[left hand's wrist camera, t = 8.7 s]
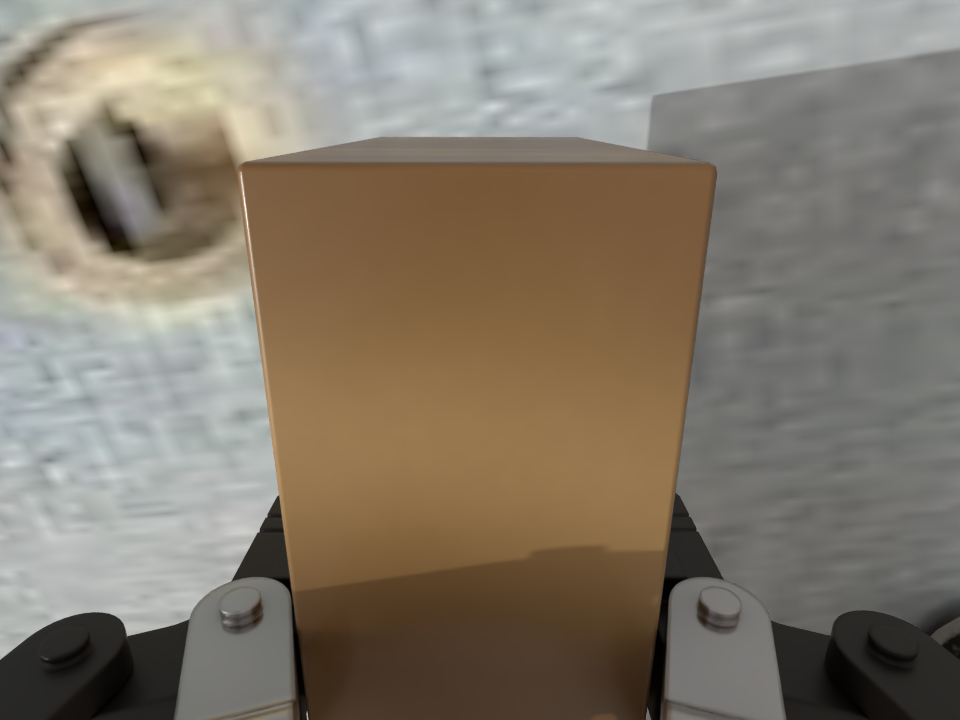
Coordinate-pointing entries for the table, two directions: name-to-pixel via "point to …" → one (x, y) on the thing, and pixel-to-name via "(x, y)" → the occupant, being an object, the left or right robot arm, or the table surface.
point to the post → (477, 415)
